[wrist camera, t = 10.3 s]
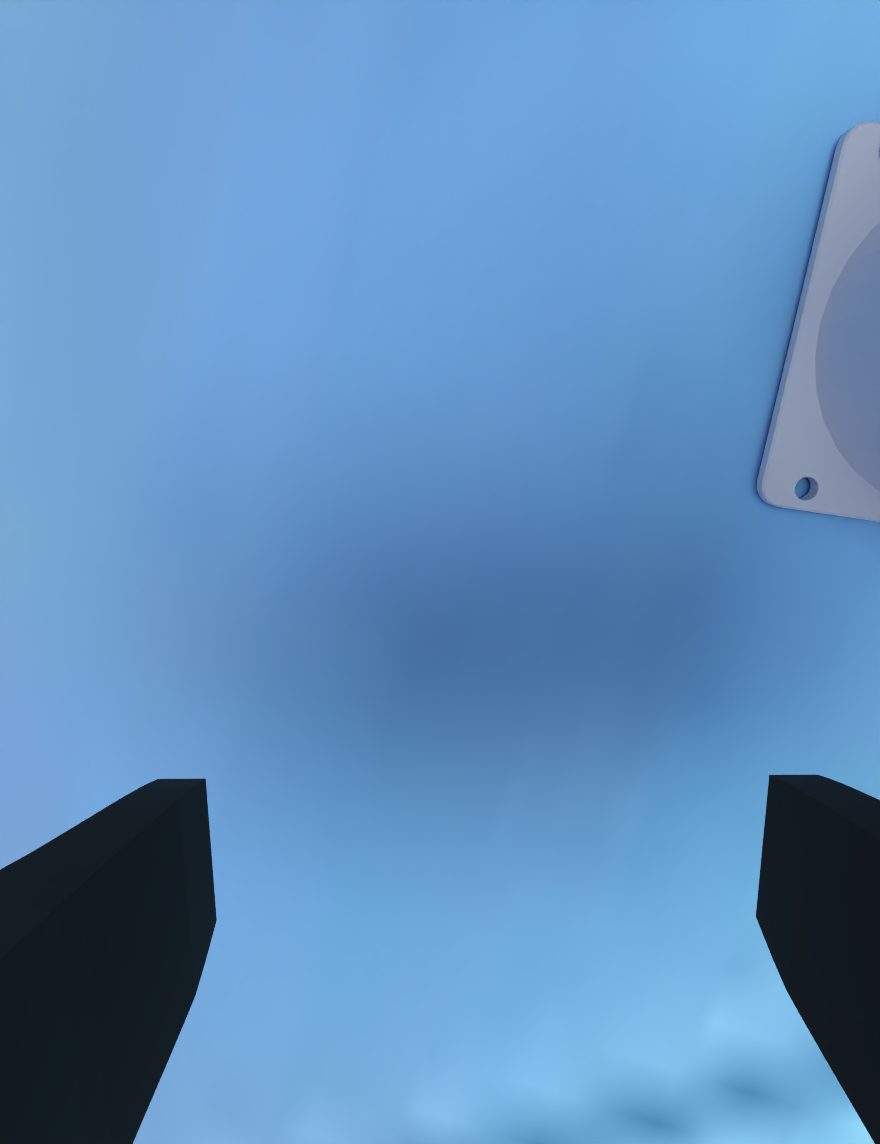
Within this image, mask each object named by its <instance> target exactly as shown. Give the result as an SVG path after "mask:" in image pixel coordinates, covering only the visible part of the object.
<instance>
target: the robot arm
mask: <svg viewBox="0 0 880 1144" xmlns="http://www.w3.org/2000/svg"><path fill="white" fill-rule="evenodd" d="M879 148H880V122H874V121H872V122H862V123H860V124H858V125H856V126H854V127H853V128H851V129H849V130H848V131H847V132H846V133H845V134H844V135H843V136H842V137H841V138H840V140H839V142H838V144H837V147H836V150H835V154H834V158H833V162H832V167H831V171H830V175H829V179H828V184H827V188H826V192H825V196H824V200H823V205H822V209H821V213H820V217H819V222H818V226H817V230H816V234H815V238H814V243H813V247H812V251H811V255H810V260H809V264H808V268H807V272H806V276H805V281H804V285H803V289H802V293H801V298H800V302H799V306H798V310H797V314H796V319H795V323H794V327H793V331H792V336H791V340H790V344H789V348H788V353H787V357H786V361H785V365H784V369H783V374H782V378H781V382H780V386H779V391H778V395H777V399H776V403H775V407H774V412H773V416H772V420H771V424H770V429H769V433H768V437H767V441H766V445H765V450H764V454H763V458H762V462H761V467H760V471H759V475H758V479H757V491H758V493H759V496H760V497H761V498H762V499H763V500H764V501H765V502H766V503H769V504H772V505H774V506H777V507H782V508H789V509H795V510H802V511H809V512H816V513H823V514H829V515H836V516H843V517H850V518H856V519H863V520H870V521H877V522H880V158H879ZM803 477H807V478H808V479H809V481H810V490H809V492H808V494H806V495H805V496H803V497H801V498H798V497H797V495H796V494H795V486H796V484H797V482H798V481H799V480H801V479H802V478H803ZM756 918H757V920H758V923H759V925H760V928H761V930H762V933H763V935H764V938H765V940H766V943H767V945H768V948H769V950H770V953H771V955H772V958H773V960H774V963H775V965H776V967H777V969H778V972H779V974H780V976H781V979H782V981H783V983H784V985H785V988H786V990H787V992H788V994H789V996H790V997H791V999H792V1001H793V1003H794V1005H795V1006H796V1008H797V1010H798V1012H799V1014H800V1015H801V1017H802V1019H803V1021H804V1022H805V1024H806V1026H807V1028H808V1029H809V1031H810V1033H811V1035H812V1036H813V1038H814V1040H815V1042H816V1043H817V1045H818V1047H819V1049H820V1050H821V1052H822V1054H823V1056H824V1057H825V1059H826V1061H827V1062H828V1064H829V1066H830V1067H831V1069H832V1071H833V1073H834V1074H835V1076H836V1078H837V1079H838V1081H839V1083H840V1085H841V1086H842V1088H843V1090H844V1091H845V1093H846V1095H847V1097H848V1098H849V1100H850V1102H851V1103H852V1105H853V1107H854V1109H855V1110H856V1112H857V1114H858V1115H859V1117H860V1119H861V1121H862V1122H863V1124H864V1126H865V1127H866V1129H867V1131H868V1133H869V1134H870V1136H871V1138H872V1139H873V1141H874V1143H875V1144H880V800H878V799H876V798H874V797H872V796H869V795H867V794H865V793H863V792H861V791H858V790H856V789H854V788H852V787H849V786H847V785H844V784H842V783H839V782H837V781H834V780H832V779H829V778H826V777H823V776H820V775H769V785H768V796H767V806H766V817H765V827H764V837H763V848H762V858H761V869H760V879H759V890H758V900H757V910H756ZM215 924H216V908H215V895H214V882H213V869H212V856H211V843H210V830H209V817H208V804H207V791H206V779H157V780H155V781H153V782H150V783H148V784H146V785H144V786H142V787H140V788H138V789H137V790H135V791H133V792H131V793H130V794H128V795H126V796H124V797H123V798H121V799H119V800H118V801H116V802H114V803H113V804H111V805H109V806H108V807H106V808H104V809H103V810H101V811H99V812H98V813H96V814H94V815H93V816H91V817H89V818H88V819H86V820H85V821H83V822H81V823H80V824H78V825H76V826H75V827H73V828H71V829H70V830H68V831H66V832H65V833H63V834H61V835H60V836H58V837H56V838H55V839H53V840H51V841H50V842H48V843H46V844H45V845H43V846H41V847H40V848H38V849H36V850H35V851H33V852H31V853H30V854H28V855H26V856H24V857H22V858H21V859H19V860H17V861H15V862H13V863H11V864H10V865H8V866H6V867H4V868H2V869H1V870H0V1144H133V1141H134V1139H135V1137H136V1134H137V1132H138V1130H139V1127H140V1125H141V1123H142V1120H143V1118H144V1116H145V1113H146V1111H147V1109H148V1106H149V1104H150V1102H151V1099H152V1097H153V1095H154V1092H155V1090H156V1088H157V1085H158V1083H159V1081H160V1078H161V1076H162V1074H163V1071H164V1069H165V1067H166V1064H167V1062H168V1060H169V1057H170V1055H171V1053H172V1050H173V1048H174V1046H175V1043H176V1041H177V1038H178V1036H179V1034H180V1031H181V1029H182V1027H183V1024H184V1022H185V1019H186V1017H187V1015H188V1012H189V1010H190V1007H191V1005H192V1002H193V1000H194V997H195V995H196V992H197V988H198V985H199V981H200V978H201V975H202V971H203V968H204V964H205V961H206V957H207V954H208V950H209V946H210V942H211V939H212V935H213V931H214V928H215Z"/></svg>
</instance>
